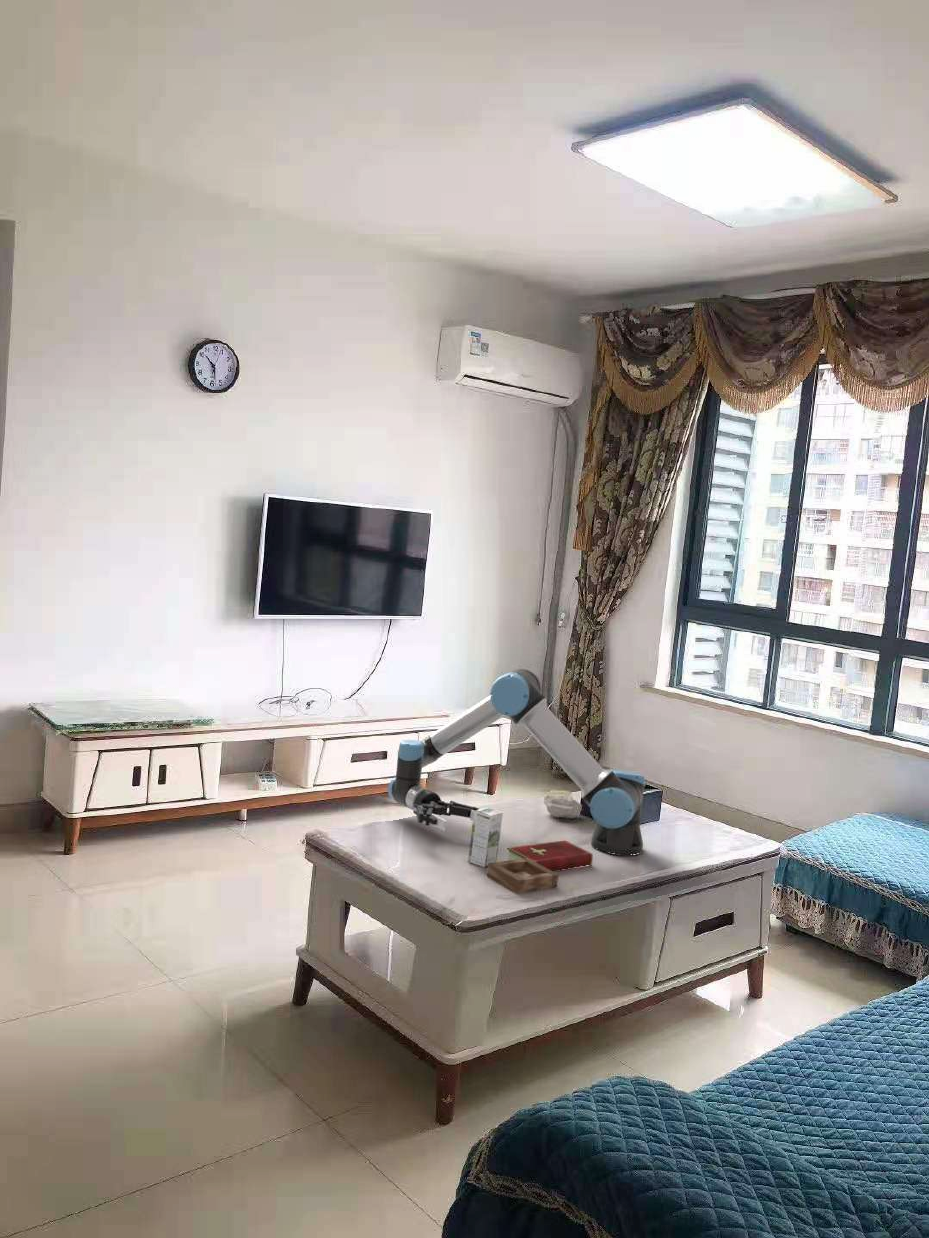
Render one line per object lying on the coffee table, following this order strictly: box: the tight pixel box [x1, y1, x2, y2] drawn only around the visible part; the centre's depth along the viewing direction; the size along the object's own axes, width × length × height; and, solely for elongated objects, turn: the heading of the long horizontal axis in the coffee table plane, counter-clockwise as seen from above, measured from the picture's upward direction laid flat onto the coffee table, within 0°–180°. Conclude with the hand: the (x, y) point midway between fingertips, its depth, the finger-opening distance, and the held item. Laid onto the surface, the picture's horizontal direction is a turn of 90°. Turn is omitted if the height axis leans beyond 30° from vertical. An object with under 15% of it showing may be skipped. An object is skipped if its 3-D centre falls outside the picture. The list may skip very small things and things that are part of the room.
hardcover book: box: [506, 840, 594, 872], centre depth 283 cm, size 12×21×4 cm, turn 125°
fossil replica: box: [543, 789, 583, 819], centre depth 330 cm, size 12×8×10 cm
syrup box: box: [467, 806, 503, 868], centre depth 276 cm, size 6×6×14 cm
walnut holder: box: [486, 858, 560, 895], centre depth 265 cm, size 13×13×4 cm
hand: (465, 823), depth 284 cm, fingers open, 13 cm apart
